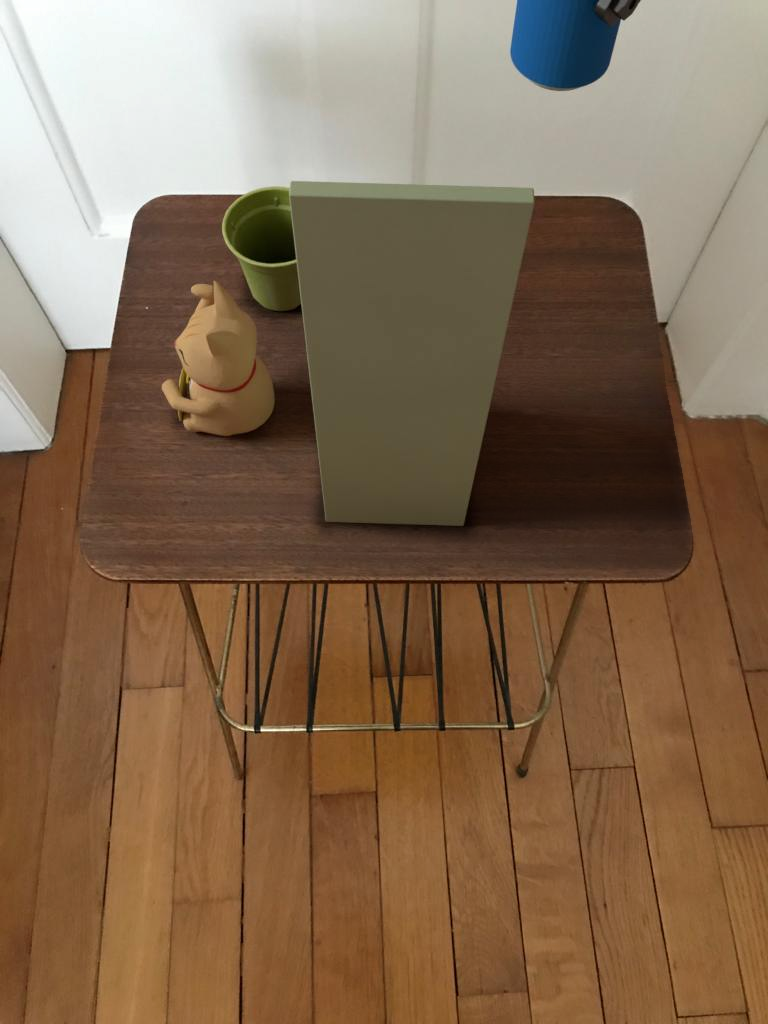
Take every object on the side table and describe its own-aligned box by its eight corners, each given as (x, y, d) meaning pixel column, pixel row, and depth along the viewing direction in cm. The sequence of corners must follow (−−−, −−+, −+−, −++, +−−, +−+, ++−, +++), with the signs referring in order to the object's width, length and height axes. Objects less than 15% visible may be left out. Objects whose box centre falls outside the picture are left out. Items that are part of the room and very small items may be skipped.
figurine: (178, 364, 85) (141, 255, 71) (281, 368, 85) (263, 260, 71) (165, 443, 81) (124, 344, 68) (273, 447, 81) (253, 348, 68)
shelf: (462, 405, 83) (524, 31, 49) (463, 526, 78) (534, 202, 44) (333, 401, 83) (305, 25, 49) (325, 522, 78) (288, 195, 44)
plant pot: (329, 250, 91) (325, 185, 83) (330, 325, 87) (325, 265, 79) (237, 251, 91) (224, 186, 83) (233, 327, 87) (219, 266, 79)
